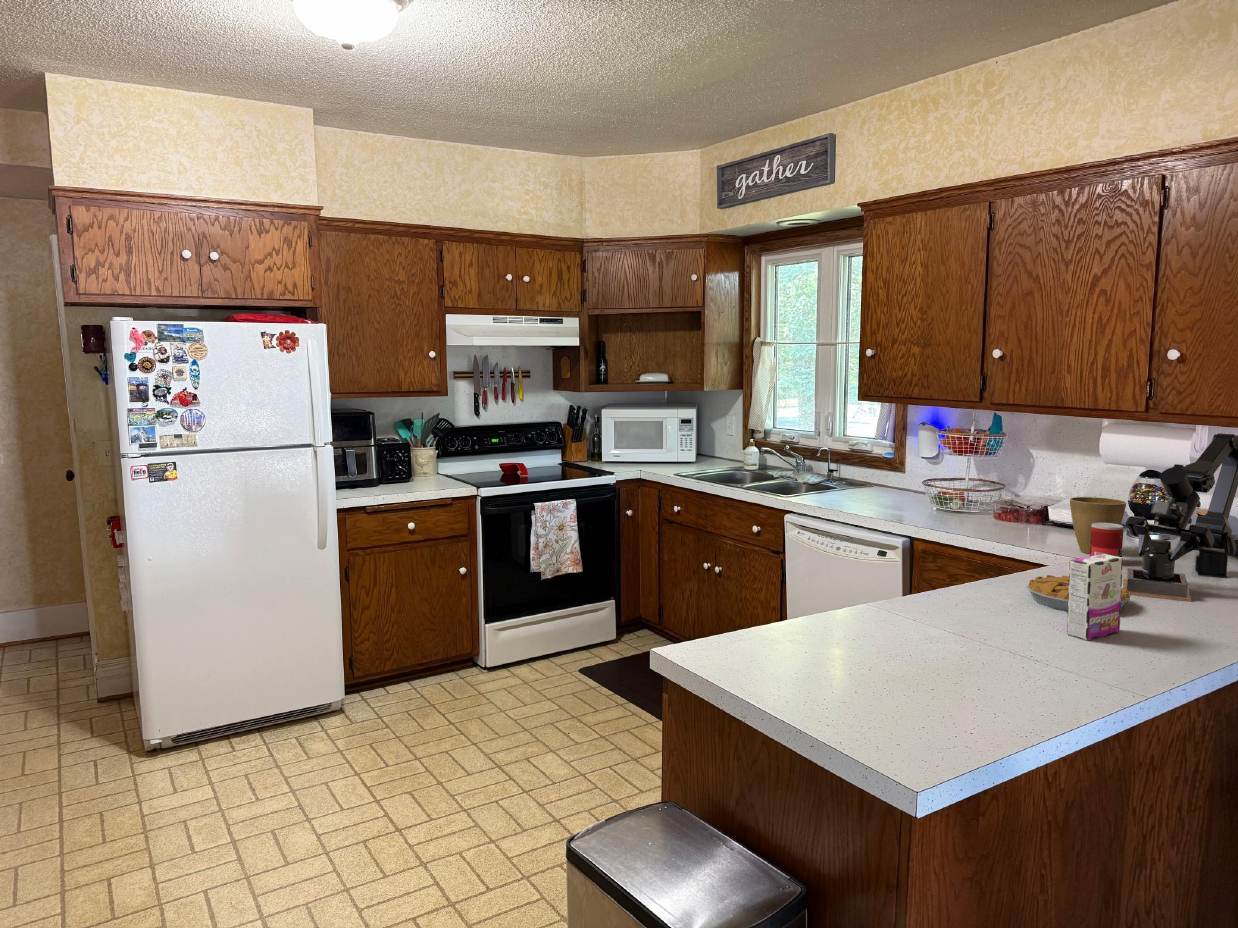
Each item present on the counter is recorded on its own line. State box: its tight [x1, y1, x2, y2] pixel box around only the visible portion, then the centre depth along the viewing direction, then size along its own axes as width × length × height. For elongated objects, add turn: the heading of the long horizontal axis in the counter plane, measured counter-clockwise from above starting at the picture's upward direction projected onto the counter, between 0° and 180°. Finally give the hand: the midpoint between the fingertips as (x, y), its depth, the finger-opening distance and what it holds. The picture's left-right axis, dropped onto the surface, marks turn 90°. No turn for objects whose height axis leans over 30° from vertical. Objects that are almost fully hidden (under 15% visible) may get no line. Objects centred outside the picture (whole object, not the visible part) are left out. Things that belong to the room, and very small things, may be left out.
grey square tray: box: [1122, 567, 1192, 602], centre depth 212 cm, size 14×14×4 cm
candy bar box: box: [1066, 554, 1124, 641], centre depth 179 cm, size 11×5×16 cm, turn 117°
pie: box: [1026, 574, 1131, 612], centre depth 203 cm, size 22×22×5 cm
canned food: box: [1089, 523, 1124, 558], centre depth 243 cm, size 8×8×11 cm
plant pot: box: [1069, 496, 1127, 555], centre depth 256 cm, size 15×15×16 cm
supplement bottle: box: [1141, 538, 1176, 582], centre depth 212 cm, size 7×7×12 cm
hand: (1155, 557), depth 211 cm, fingers open, 7 cm apart
